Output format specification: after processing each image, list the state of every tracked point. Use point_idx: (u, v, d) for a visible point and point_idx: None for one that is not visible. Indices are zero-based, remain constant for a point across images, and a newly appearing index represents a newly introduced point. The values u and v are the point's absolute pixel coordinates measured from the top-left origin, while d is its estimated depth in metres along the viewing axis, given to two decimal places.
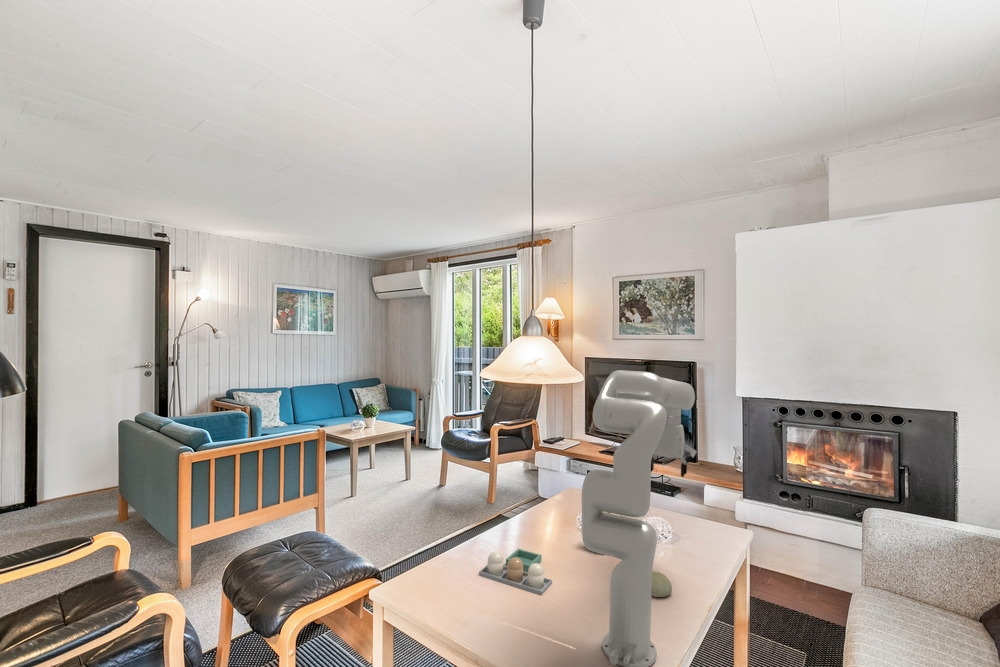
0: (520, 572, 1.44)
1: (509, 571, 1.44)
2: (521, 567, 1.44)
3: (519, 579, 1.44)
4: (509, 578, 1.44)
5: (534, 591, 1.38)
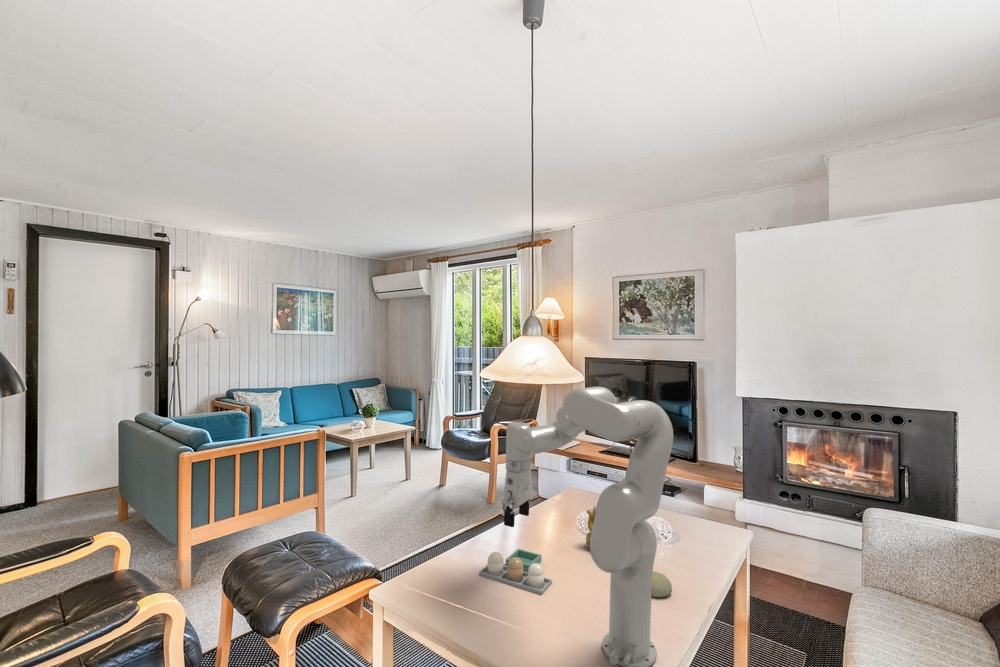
0: (520, 572, 1.44)
1: (509, 571, 1.44)
2: (521, 567, 1.44)
3: (519, 579, 1.44)
4: (509, 578, 1.44)
5: (534, 591, 1.38)
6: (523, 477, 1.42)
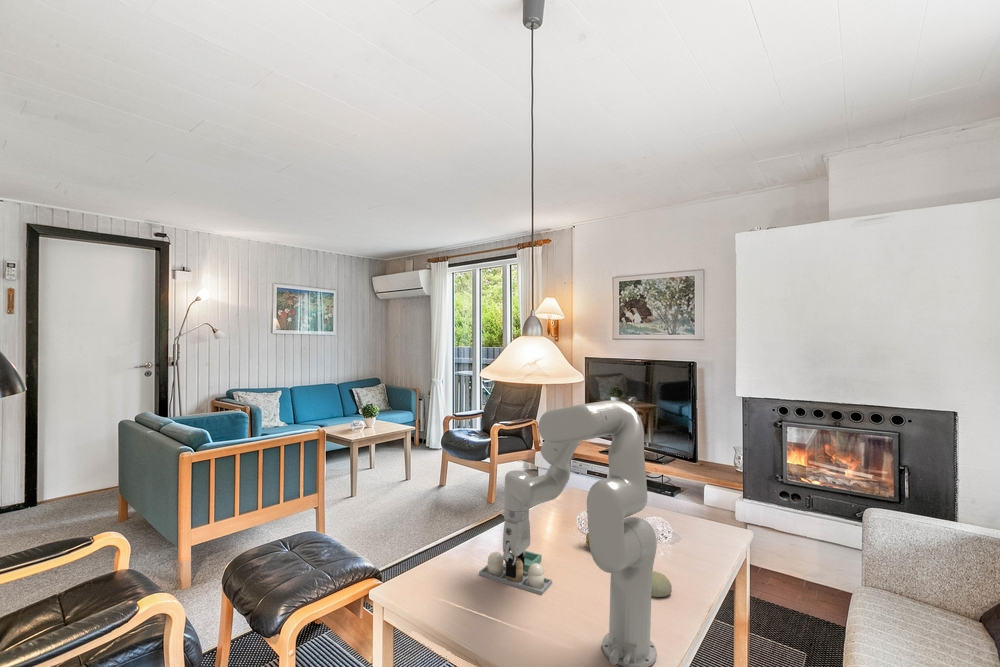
0: (520, 572, 1.44)
1: None
2: (521, 567, 1.44)
3: (519, 579, 1.44)
4: (509, 578, 1.44)
5: (534, 591, 1.38)
6: (521, 527, 1.43)
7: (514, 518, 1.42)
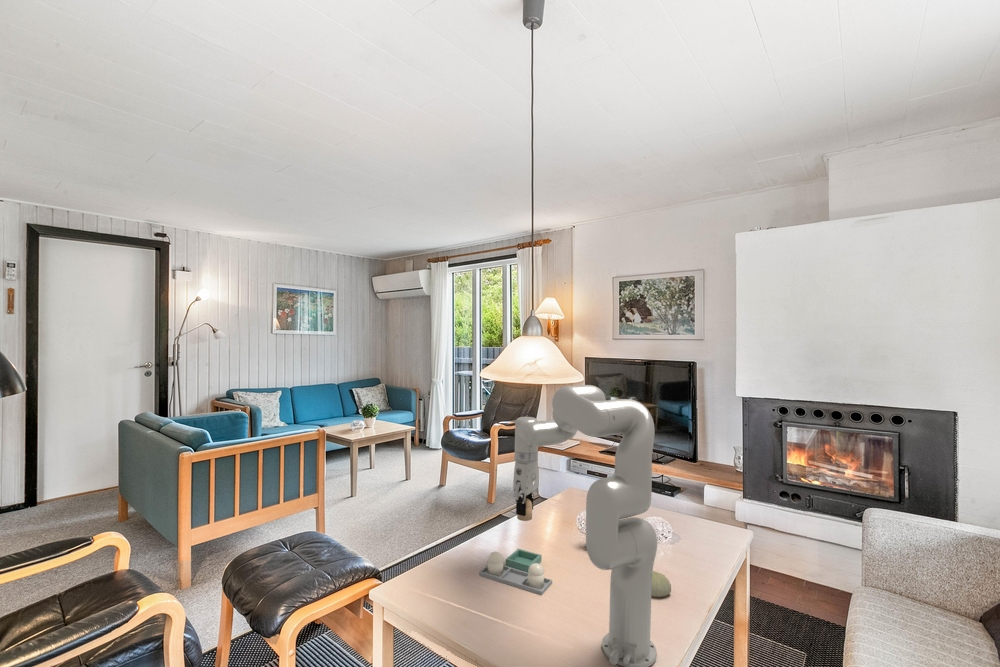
0: (529, 511, 1.53)
1: None
2: (530, 506, 1.54)
3: (528, 517, 1.53)
4: (519, 516, 1.53)
5: (534, 591, 1.38)
6: (531, 468, 1.52)
7: (524, 459, 1.51)
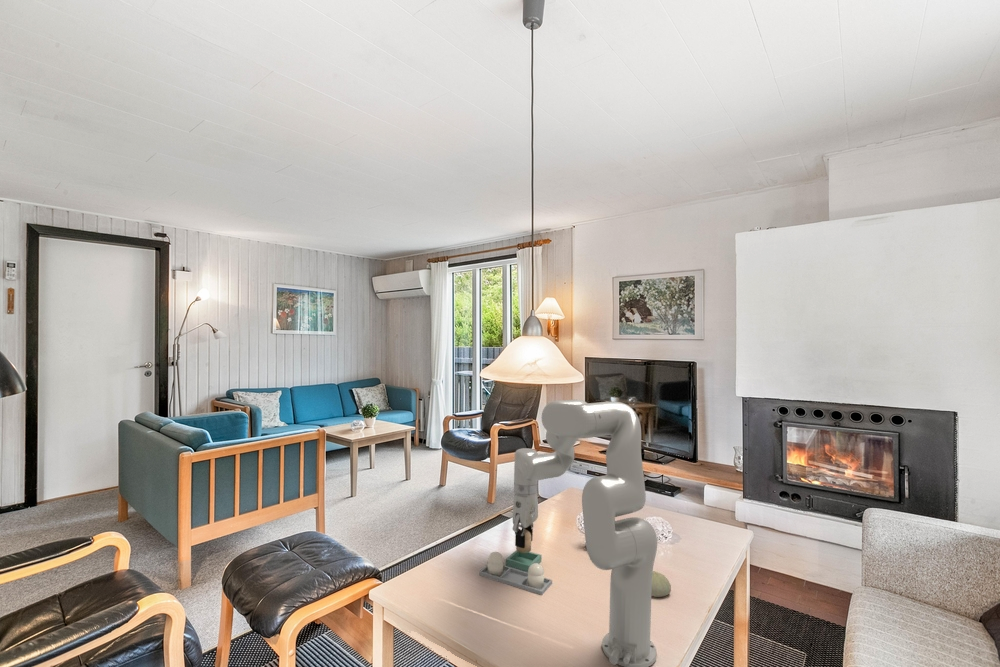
0: (528, 542, 1.54)
1: None
2: (529, 538, 1.54)
3: (527, 549, 1.53)
4: (518, 548, 1.54)
5: (534, 591, 1.38)
6: (530, 500, 1.52)
7: (523, 492, 1.51)
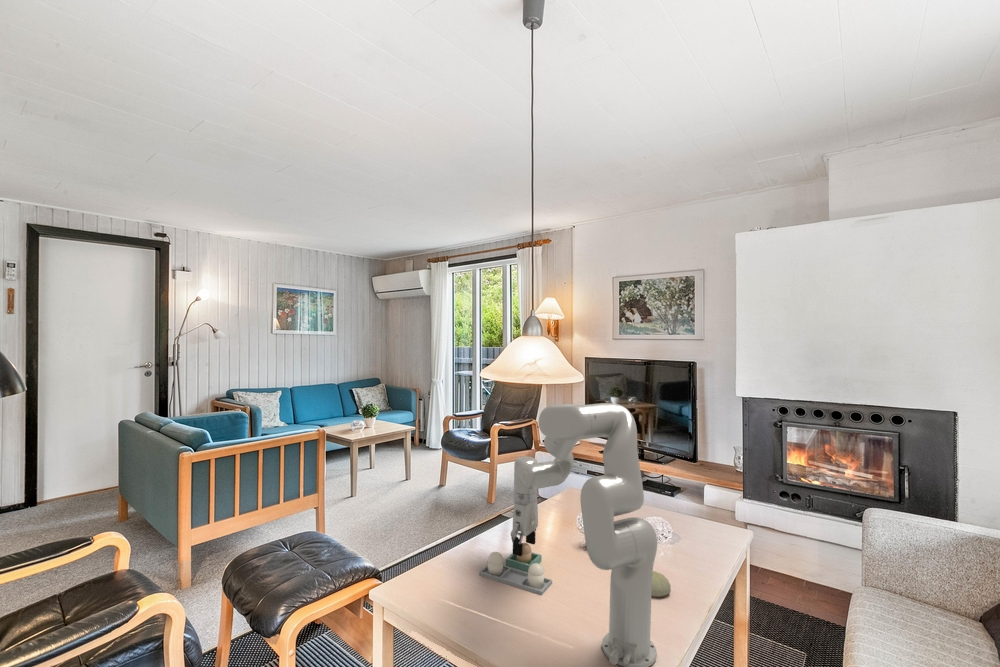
0: (529, 556, 1.54)
1: None
2: (529, 552, 1.54)
3: (528, 563, 1.53)
4: None
5: (534, 591, 1.38)
6: (530, 509, 1.52)
7: (523, 500, 1.51)
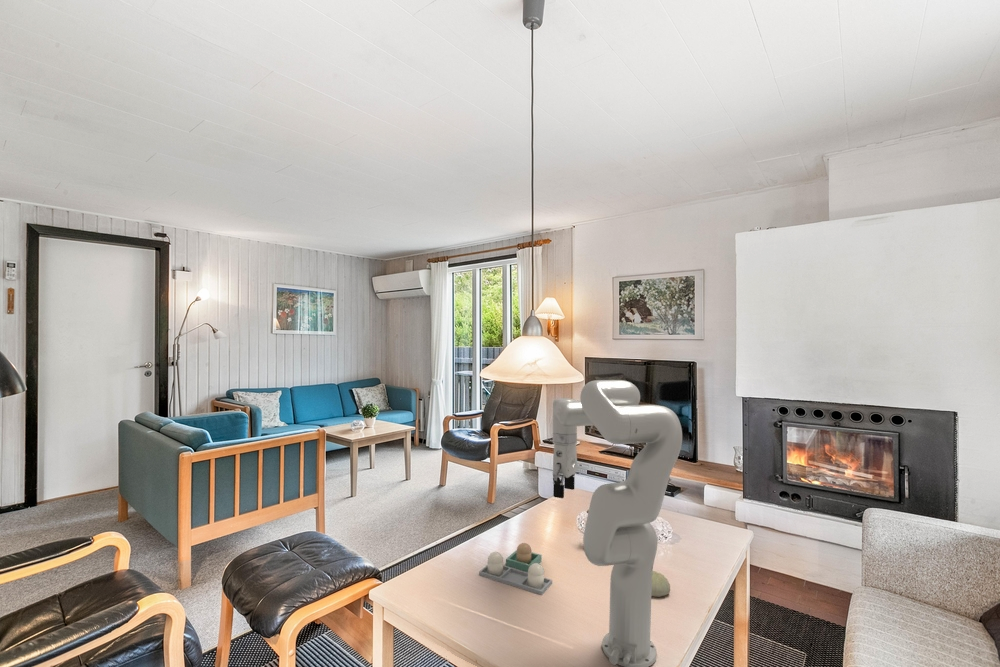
0: (529, 556, 1.54)
1: (518, 555, 1.54)
2: (529, 552, 1.54)
3: (528, 563, 1.53)
4: None
5: (534, 591, 1.38)
6: (571, 450, 1.47)
7: (564, 441, 1.47)
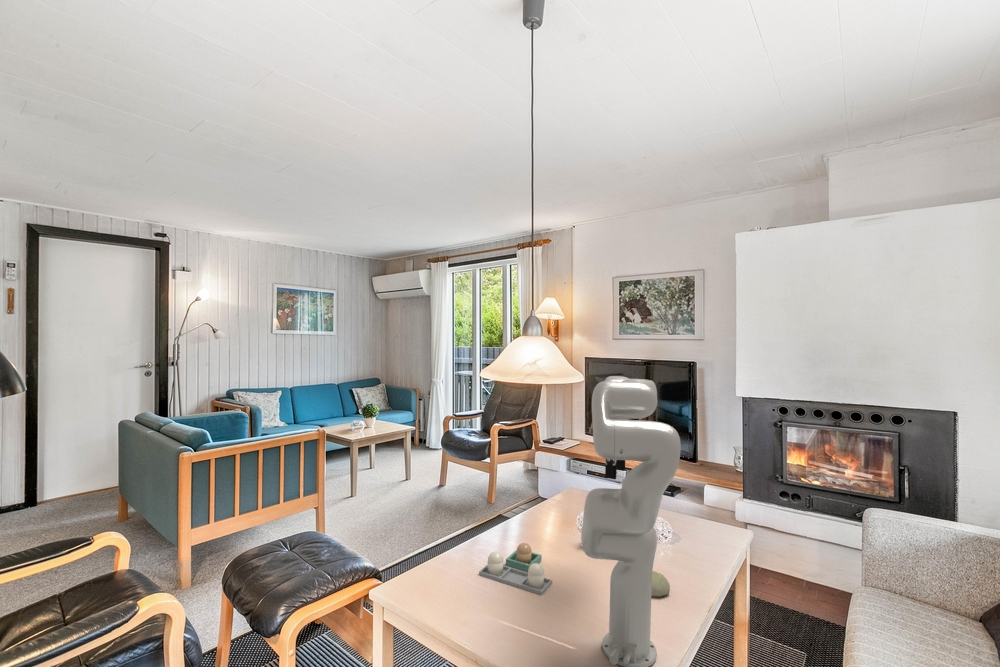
0: (529, 556, 1.54)
1: (518, 555, 1.54)
2: (529, 552, 1.54)
3: (528, 563, 1.53)
4: None
5: (534, 591, 1.38)
6: None
7: (617, 420, 1.41)
